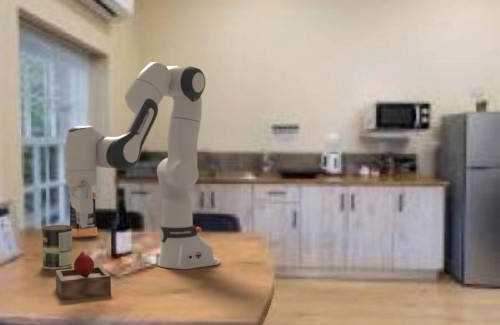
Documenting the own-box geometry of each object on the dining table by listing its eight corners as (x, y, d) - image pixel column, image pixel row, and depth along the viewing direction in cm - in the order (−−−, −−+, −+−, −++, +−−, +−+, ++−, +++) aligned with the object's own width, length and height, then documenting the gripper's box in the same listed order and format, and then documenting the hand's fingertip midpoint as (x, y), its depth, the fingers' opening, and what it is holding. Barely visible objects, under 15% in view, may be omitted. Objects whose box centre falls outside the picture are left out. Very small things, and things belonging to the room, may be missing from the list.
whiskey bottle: (88, 233, 280) (87, 166, 279) (98, 235, 273) (97, 167, 272) (67, 235, 273) (66, 167, 272) (77, 238, 266) (76, 168, 265)
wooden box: (102, 283, 186) (101, 266, 186) (110, 294, 174) (110, 276, 173) (56, 288, 181) (55, 270, 180) (61, 299, 168) (61, 280, 168)
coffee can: (43, 270, 204) (43, 230, 203) (41, 264, 213) (41, 226, 212) (74, 268, 208) (73, 228, 207) (71, 262, 217) (70, 224, 216)
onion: (85, 279, 172) (80, 252, 173) (72, 280, 175) (67, 254, 176) (100, 274, 177) (95, 248, 178) (87, 276, 180) (82, 250, 181)
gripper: (98, 182, 167) (98, 230, 168) (86, 177, 186) (87, 220, 186) (75, 182, 165) (76, 231, 165) (66, 177, 183) (66, 221, 184)
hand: (81, 225), depth 176 cm, fingers open, 5 cm apart
